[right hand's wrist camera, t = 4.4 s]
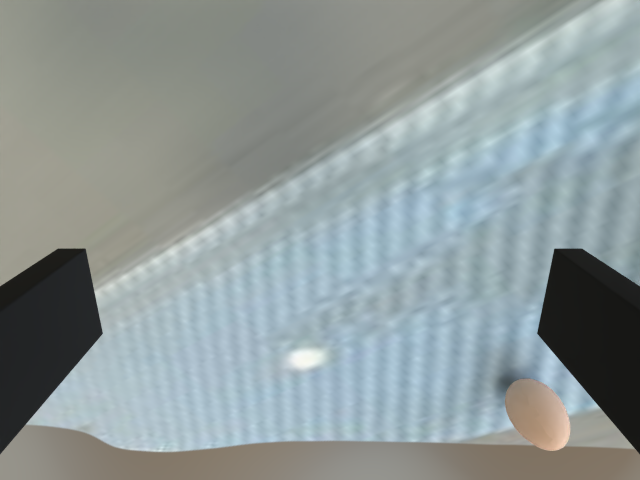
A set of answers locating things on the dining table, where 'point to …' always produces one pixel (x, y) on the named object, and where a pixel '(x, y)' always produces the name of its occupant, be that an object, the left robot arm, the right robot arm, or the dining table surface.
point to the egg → (537, 414)
